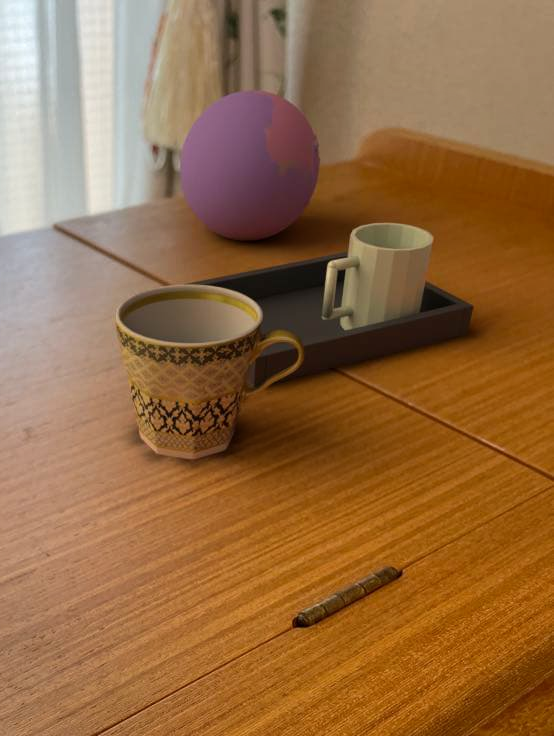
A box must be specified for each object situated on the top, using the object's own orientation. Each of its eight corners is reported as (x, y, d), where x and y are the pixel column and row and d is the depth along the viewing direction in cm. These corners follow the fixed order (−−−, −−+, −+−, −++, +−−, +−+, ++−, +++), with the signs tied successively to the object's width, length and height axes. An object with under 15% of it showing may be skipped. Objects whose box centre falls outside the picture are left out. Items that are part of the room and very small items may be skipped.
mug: (385, 304, 82) (398, 218, 77) (432, 331, 77) (450, 241, 72) (298, 323, 79) (307, 235, 74) (342, 353, 74) (355, 261, 69)
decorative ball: (320, 260, 93) (337, 107, 84) (179, 261, 93) (180, 108, 84) (304, 215, 105) (317, 76, 95) (179, 216, 105) (180, 78, 96)
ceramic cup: (101, 464, 62) (94, 334, 56) (143, 398, 70) (140, 277, 63) (281, 493, 59) (294, 359, 53) (305, 421, 67) (318, 296, 60)
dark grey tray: (358, 278, 89) (362, 248, 87) (466, 338, 77) (474, 305, 76) (166, 319, 82) (165, 287, 80) (253, 392, 70) (255, 357, 68)
